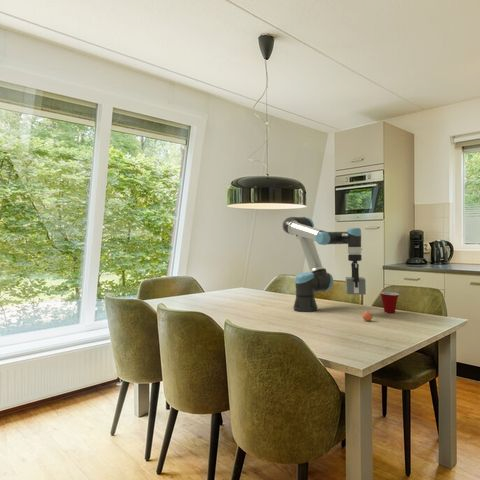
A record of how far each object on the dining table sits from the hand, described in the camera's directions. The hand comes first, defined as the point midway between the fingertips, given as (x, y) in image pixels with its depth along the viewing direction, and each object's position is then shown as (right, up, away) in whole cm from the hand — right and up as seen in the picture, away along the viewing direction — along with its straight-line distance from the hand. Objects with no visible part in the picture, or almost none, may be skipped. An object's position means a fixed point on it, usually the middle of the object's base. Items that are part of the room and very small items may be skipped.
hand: (355, 291), depth 221 cm
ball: (+1, -11, -19) cm, 22 cm away
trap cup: (0, -1, 0) cm, 1 cm away
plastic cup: (+22, -13, +2) cm, 25 cm away
